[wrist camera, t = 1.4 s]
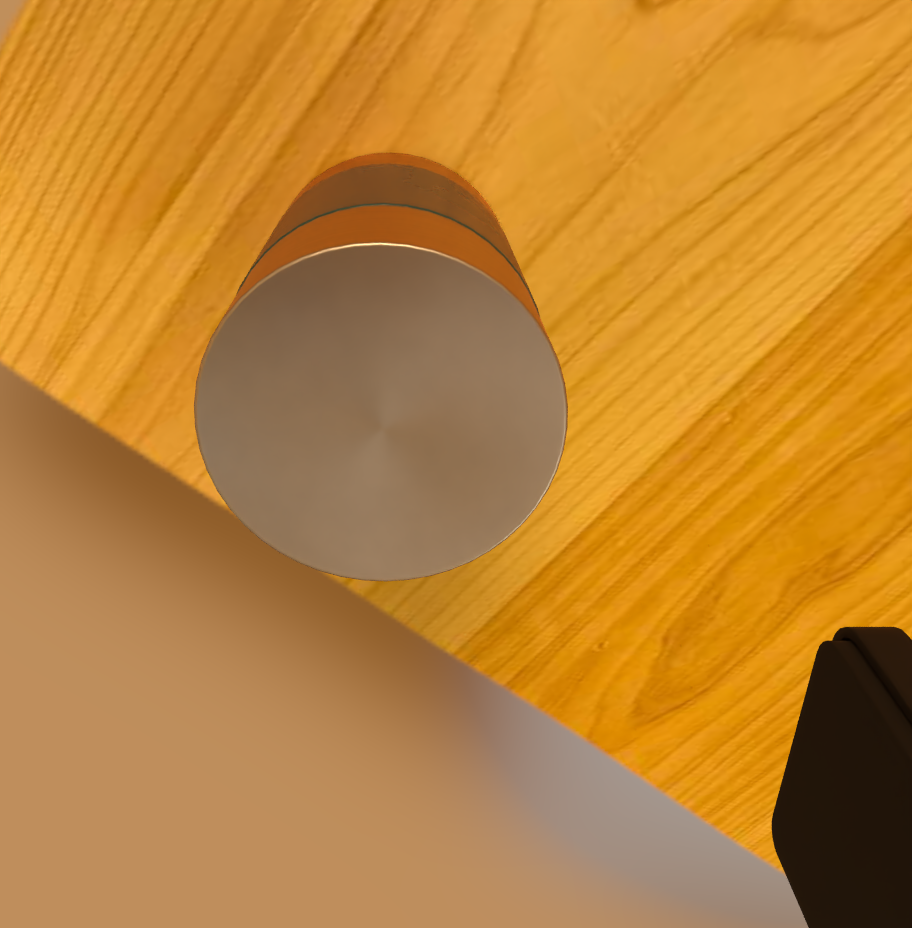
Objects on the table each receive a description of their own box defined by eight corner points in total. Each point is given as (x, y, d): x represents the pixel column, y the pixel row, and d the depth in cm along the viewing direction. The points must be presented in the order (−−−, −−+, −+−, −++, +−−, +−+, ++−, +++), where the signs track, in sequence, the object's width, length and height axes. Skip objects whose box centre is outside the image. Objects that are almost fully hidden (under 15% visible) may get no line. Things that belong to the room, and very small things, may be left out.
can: (262, 148, 23) (168, 237, 14) (517, 153, 23) (587, 242, 14) (279, 387, 26) (212, 585, 17) (504, 388, 26) (555, 582, 17)
